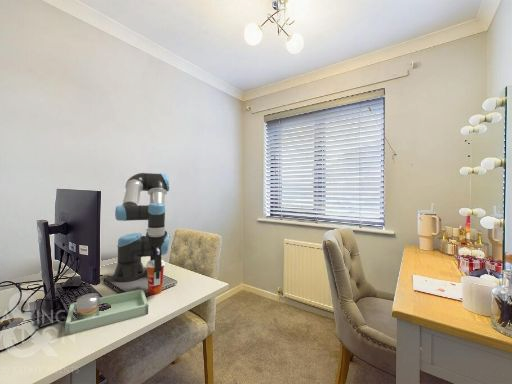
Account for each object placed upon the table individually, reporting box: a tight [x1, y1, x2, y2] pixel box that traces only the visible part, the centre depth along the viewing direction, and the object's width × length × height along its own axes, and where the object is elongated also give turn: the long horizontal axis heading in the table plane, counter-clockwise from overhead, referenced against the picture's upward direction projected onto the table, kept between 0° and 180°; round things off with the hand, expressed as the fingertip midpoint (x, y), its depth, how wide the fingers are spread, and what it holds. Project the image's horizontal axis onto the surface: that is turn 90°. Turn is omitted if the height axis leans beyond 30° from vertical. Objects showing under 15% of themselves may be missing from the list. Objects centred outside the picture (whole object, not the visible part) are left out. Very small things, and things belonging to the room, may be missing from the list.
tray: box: [64, 288, 149, 336], centre depth 93 cm, size 16×26×4 cm, turn 123°
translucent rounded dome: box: [76, 292, 100, 321], centre depth 89 cm, size 7×7×8 cm
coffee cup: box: [146, 259, 165, 296], centre depth 113 cm, size 8×8×15 cm
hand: (155, 281), depth 113 cm, fingers closed on coffee cup, 8 cm apart
